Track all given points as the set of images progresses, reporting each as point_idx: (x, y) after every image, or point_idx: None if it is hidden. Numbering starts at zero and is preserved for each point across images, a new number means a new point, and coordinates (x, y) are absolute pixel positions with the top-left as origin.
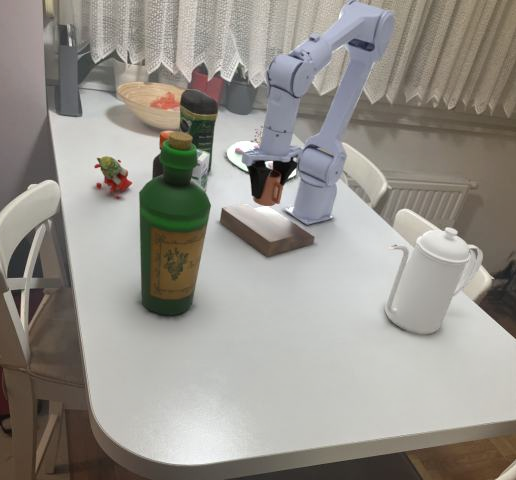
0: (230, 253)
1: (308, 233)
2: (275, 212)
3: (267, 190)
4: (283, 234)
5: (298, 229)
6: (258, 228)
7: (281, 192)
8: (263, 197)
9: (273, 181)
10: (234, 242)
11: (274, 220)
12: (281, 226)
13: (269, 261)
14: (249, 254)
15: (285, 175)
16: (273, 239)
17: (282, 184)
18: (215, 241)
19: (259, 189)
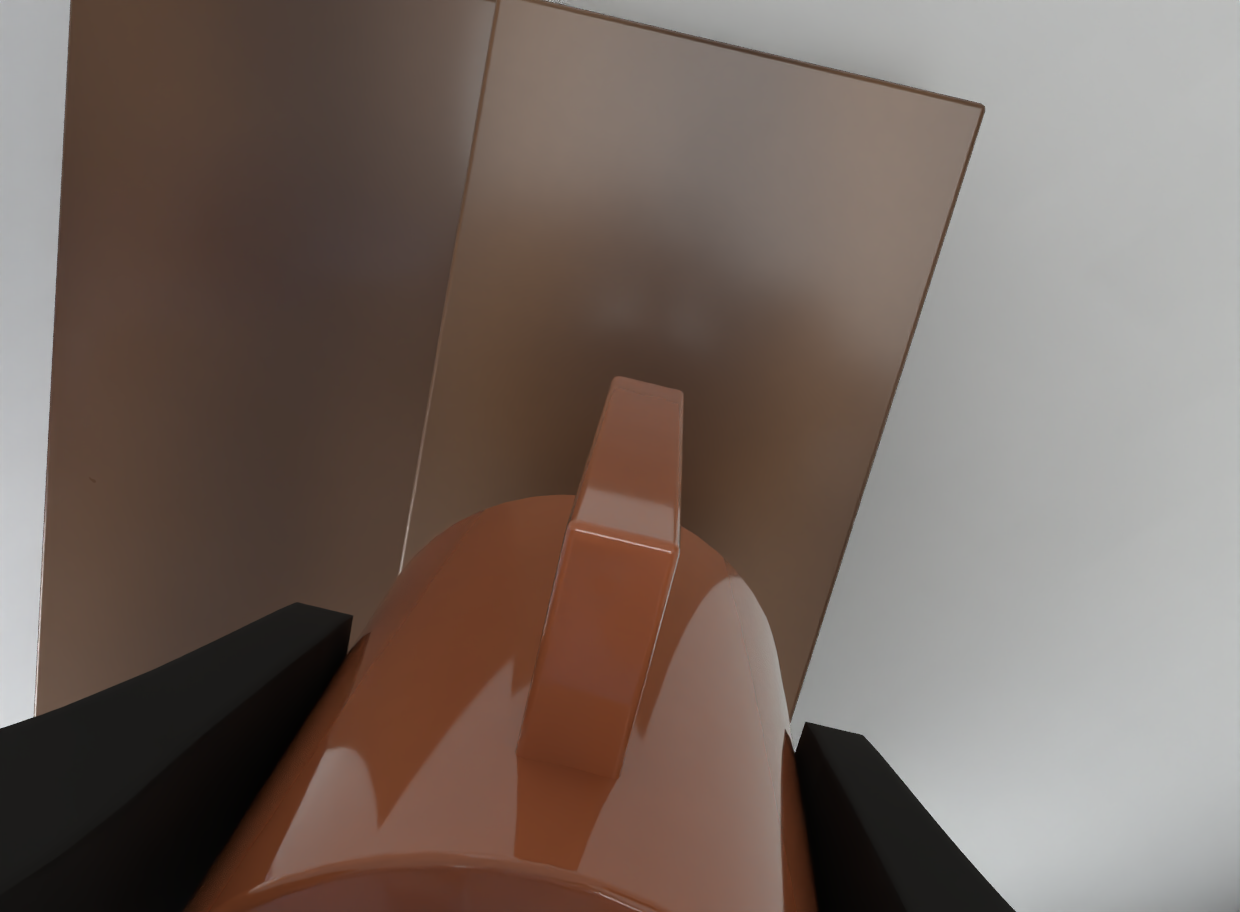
0: (1183, 430)
1: (89, 20)
2: (69, 615)
3: (768, 749)
4: (610, 124)
5: (135, 179)
6: (771, 445)
7: (617, 457)
8: (780, 695)
9: (692, 846)
10: (933, 542)
11: (243, 509)
12: (285, 367)
13: (990, 27)
14: (1034, 284)
15: (82, 833)
16: (868, 127)
17: (212, 695)
18: (1078, 670)
19: (963, 869)
